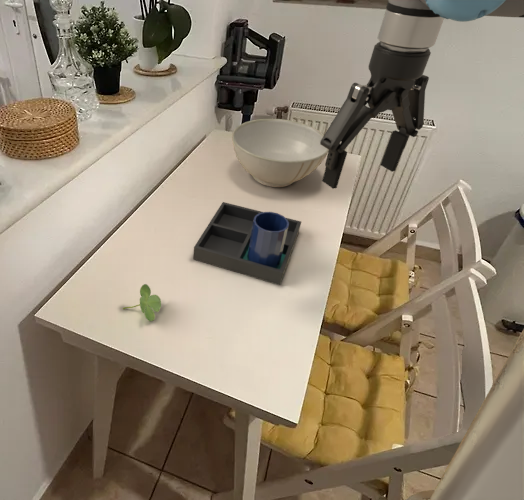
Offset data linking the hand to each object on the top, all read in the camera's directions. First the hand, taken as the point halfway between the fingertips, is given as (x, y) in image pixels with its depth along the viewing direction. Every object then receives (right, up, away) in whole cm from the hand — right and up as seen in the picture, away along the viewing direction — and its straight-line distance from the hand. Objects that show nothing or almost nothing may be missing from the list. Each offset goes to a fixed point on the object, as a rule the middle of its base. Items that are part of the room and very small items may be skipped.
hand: (359, 176), depth 75 cm
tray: (-15, -12, +27) cm, 33 cm away
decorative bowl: (-3, +9, +52) cm, 53 cm away
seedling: (-38, -25, +11) cm, 47 cm away
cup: (-12, -15, +22) cm, 29 cm away
